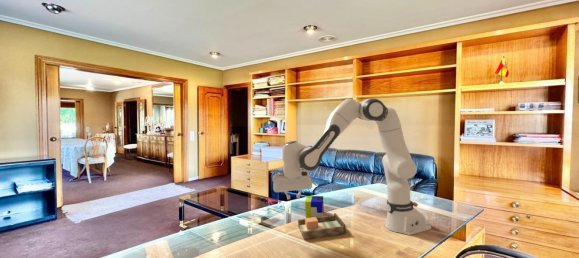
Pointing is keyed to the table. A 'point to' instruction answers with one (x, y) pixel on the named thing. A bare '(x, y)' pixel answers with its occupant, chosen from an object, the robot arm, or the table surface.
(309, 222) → the block
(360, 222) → the table surface
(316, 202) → the puzzle toy
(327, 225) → the box
